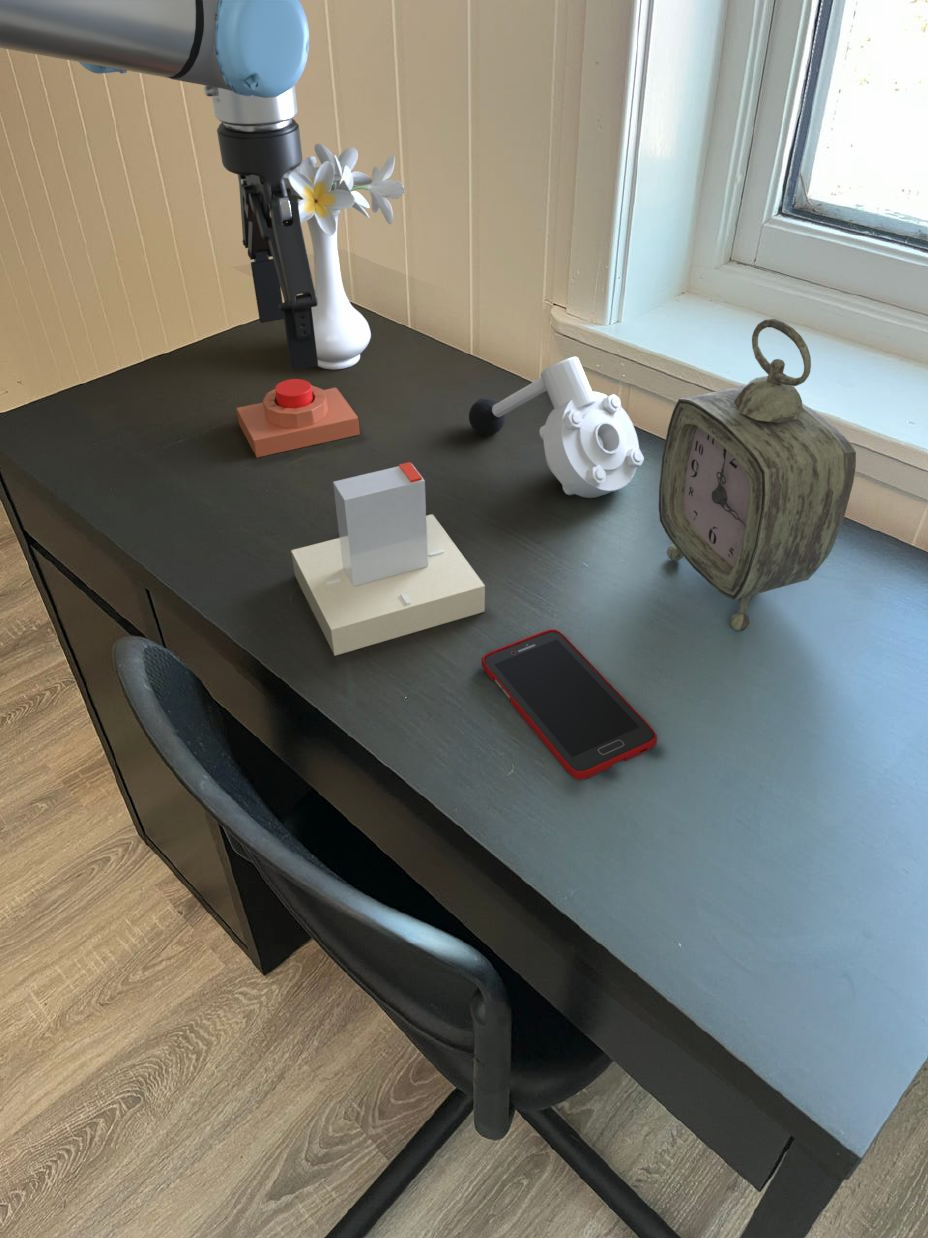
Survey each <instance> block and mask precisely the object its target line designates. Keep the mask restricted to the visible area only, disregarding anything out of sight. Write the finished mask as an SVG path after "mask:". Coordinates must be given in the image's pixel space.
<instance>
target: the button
mask: <svg viewBox="0 0 928 1238" xmlns="http://www.w3.org/2000/svg"><path fill="white" fill-rule="evenodd" d="M311 385H312V383H310V381H307V380H305V379H301V378H300V379H299V378H291V379H286V380H283V381H281V382H279V383H277V384H276V385H275V388H274V389H275V392H276V398H277V404H278V405H279V406H280V407H283V408H300V407H305V406H307V405H309V404H311V403H312V401H313V396H312V388H311Z"/></svg>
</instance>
